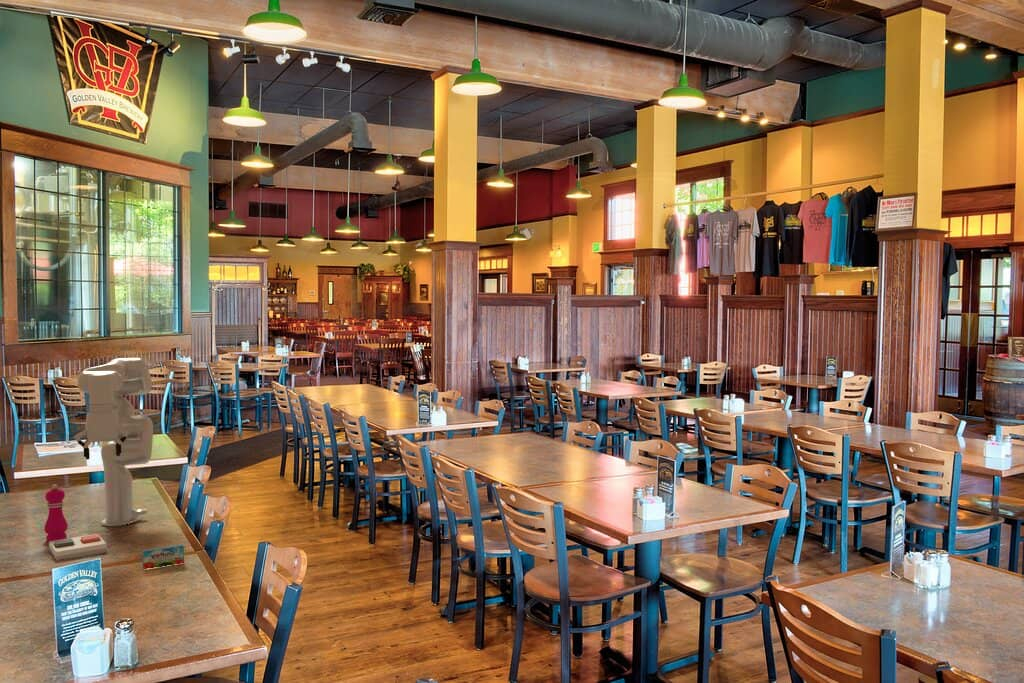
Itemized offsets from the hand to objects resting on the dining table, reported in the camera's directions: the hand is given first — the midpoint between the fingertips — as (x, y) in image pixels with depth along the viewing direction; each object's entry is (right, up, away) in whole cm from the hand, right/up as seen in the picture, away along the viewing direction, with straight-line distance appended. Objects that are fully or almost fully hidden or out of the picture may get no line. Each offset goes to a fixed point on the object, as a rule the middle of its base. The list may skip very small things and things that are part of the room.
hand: (102, 457), depth 282 cm
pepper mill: (-19, -31, +5) cm, 36 cm away
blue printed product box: (+32, -32, -26) cm, 52 cm away
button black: (-7, -29, -11) cm, 32 cm away
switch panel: (-4, -31, -8) cm, 32 cm away
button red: (-1, -29, -6) cm, 30 cm away
